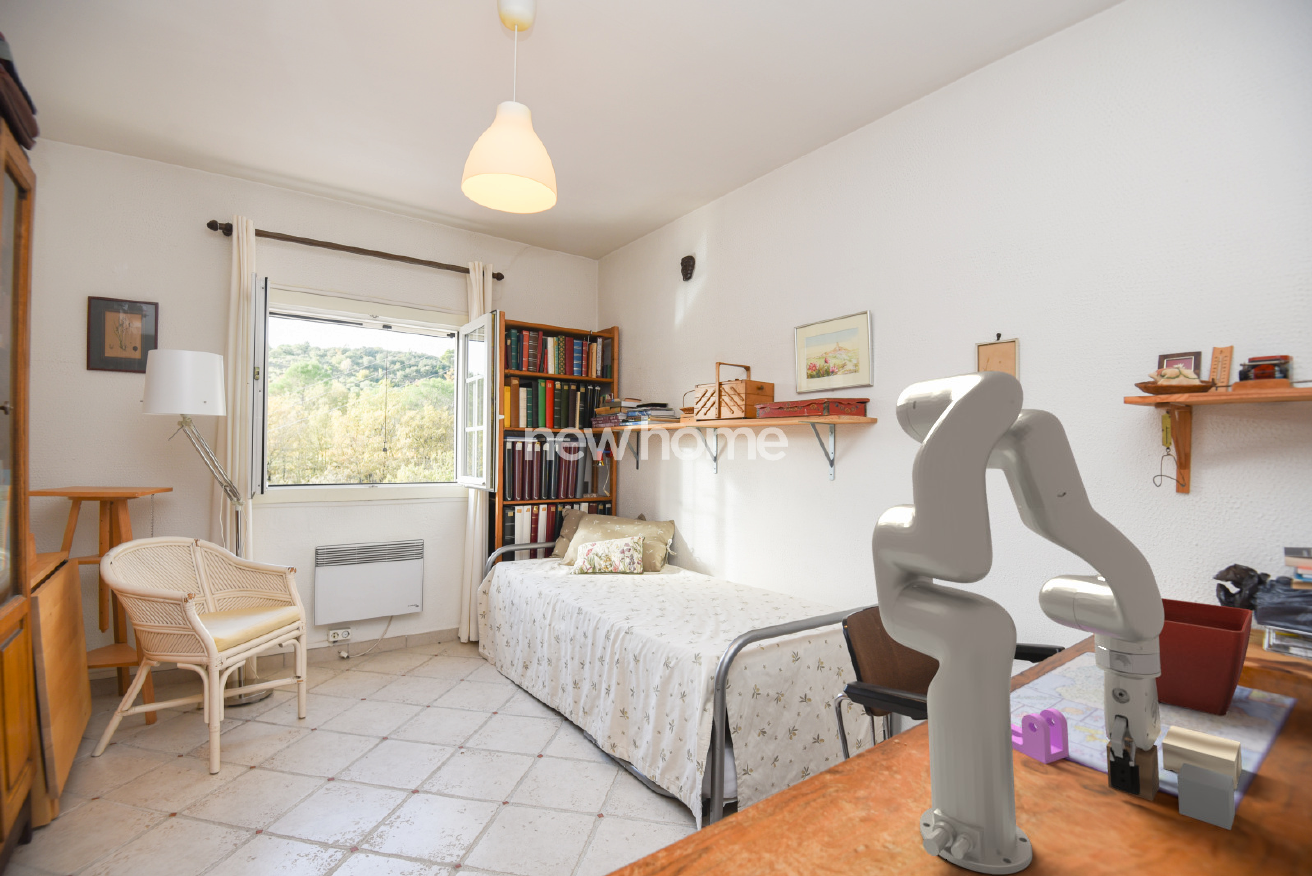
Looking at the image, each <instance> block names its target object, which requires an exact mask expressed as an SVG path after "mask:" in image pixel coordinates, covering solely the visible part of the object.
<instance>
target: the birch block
mask: <svg viewBox="0 0 1312 876" xmlns="http://www.w3.org/2000/svg"><path fill="white" fill-rule="evenodd" d="M1170 725H1171V726H1170V727H1169V729H1168V731H1167V733H1166V734H1165V736H1164V738H1163V740H1162V741H1161V745H1162V746H1161V748H1162V763H1163V765H1162V766H1163V769H1164V770H1166V769H1167V770H1166V771H1170V770H1173V771H1175V772H1174V773H1177V774H1179V772H1180V770H1181V767H1182V765H1183V763H1186V764H1190V765H1193V766H1197V767H1201V768H1204V769H1208V770H1211V771H1215V772H1219V773H1222V774H1226V775H1229V776H1233V787H1234V790H1237V788H1238V785H1239V781H1240V778H1241V777H1240V776H1241V773H1242V771H1243V763H1242V762H1243V761H1242V745H1241V741H1238V740H1233V739H1229V738H1226V737H1221V736H1218V735H1217V736H1216V735H1213V734H1209V733H1205V732H1200V731H1197V730H1192V729H1189V728H1184V727H1180V726H1177V725H1172V724H1170ZM1173 771H1172V772H1173ZM1239 777H1240V778H1239ZM1238 780H1239V781H1238ZM1237 784H1238V785H1237Z"/></svg>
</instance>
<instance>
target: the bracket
mask: <svg viewBox="0 0 1312 876" xmlns="http://www.w3.org/2000/svg"><path fill="white" fill-rule="evenodd" d="M1068 727H1069V726H1068V721H1067V718H1066V717H1065V715H1064V714H1063V713H1062V712H1061V711H1059V710H1058V709H1056V708H1052V707H1050V708H1046V709H1043V710H1040V712H1039V713H1035V712H1033V713H1029V714H1026V715H1024V716H1023V717H1022V719H1021V726H1018V725H1016V724H1014V723H1012V722H1011V730H1012V749H1013V750H1015V751H1017V752H1020V753H1022V754H1024V755H1026V756H1029V758H1032V759H1034V760H1037V761H1038V762H1040V763H1042V764H1044V765H1047V764H1050V763H1052V762H1055V761H1059V760H1062V759H1064V758H1067V757H1070V750H1069V732H1068V731H1069V728H1068Z"/></svg>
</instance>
